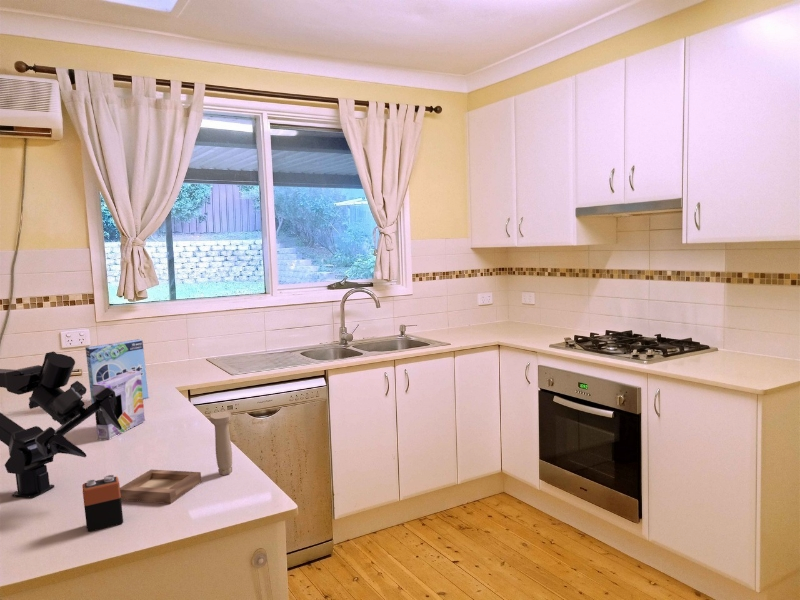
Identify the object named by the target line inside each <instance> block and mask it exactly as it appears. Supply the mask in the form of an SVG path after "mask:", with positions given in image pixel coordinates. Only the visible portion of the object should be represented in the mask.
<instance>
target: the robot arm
mask: <svg viewBox="0 0 800 600" xmlns="http://www.w3.org/2000/svg"><path fill="white" fill-rule="evenodd" d="M75 365H76V359H74V358H73V357H72V356H71V355H70V356H68V355H65V354H63V353H56V352H55V351H50V352H46V353H45V355H44V360H43V363H42V365H39V364H38V365H31V366H27V367H22V368H18V369H7V368H0V388H4V389H6V390H7V392H8V393H12V394H15V395H18V396H19V395H23V394H28V393H31V392H32V393H31V395H30V396H29V398H28V400H29V403H28V407H29V410H31V409H32V410H33V409H36V408H38V407H39V408H41V409H42V410H43V411H44V412H45V413H46V414H48V415H49V416H50V417H51V418H52V420H53V421H54V422H57V423H59V425H60V426H59V427H58V428H56V429H55V428H53V427H52V426H49V427H47V428H46V429H44V430H43V429H42V428H41V427H39V426H37V425H35V426H32V427H29V428H26V429H25V428H24V427H22V426H21V425H19V424H18V423H16V422H15V421H14V420H12V419H11V418H9V417H8V416H6V415H5V414H4V413H2V412H0V442H1V443H3V444H5V445H6V446H7V447H8V454H9V458H8V459H7V461H6V462H5V464H4V467H5V469H6V472H7V473H8V474H15V480H16V488H17V489H16V490H17V491H15V492H13V493H11V497H20V498H36V497H38V496H39V495H42V494H44V493H45V492H47V491H49V490H51V489H53V488H55V484H50V478H49V477H50V476H49V471H48V468H47V467H48V466H47V464H49V463H52V462H54V457H55V455H57V454H66V455H71V456H77V457H82V458H86V457H87V454H86V453H85V452H84V451H83V450H82V449H81V448H80V447H78V446H77V445H75V444H74V443H73V442H72V441H70V440H68V439H67V438H66V437H65V435H66V434H68V433H69V432H70V431H72V430H73V429H75V428H76V427H78V426H79V425H80V424H82V423H83V422H85V421H86V420H87V419H88V418H90V417H91V416H93V415H94V414H95V412H97V411H99V412H100V413H103V417H104V418H105V419H107V420H108V421H109V422H110V423H111V424H112V425H114V426H115V427H116V428H118V429H119V430H121V429H122V428H121V425H120V423H119V422H118V420H117V418H116V416H115V414H114V412H113V411H114V410H115V406H116V404H117V401H116V396H115V391H113V390H112V389H111V388H107V387H106V388H104V389H102V390H101V391H99V392H98V393H97V394H95V395H94V396H93V400H94V403H93V404H92V403H90V404H89V406H87V407H86V408H85V407H84V406H85V402H84V401H83V396H84V395H85V394H86V393H87V388H86V387H85V385H84V384H83V383H82V382H80V381H78V380H75V381H74V382H73V383H72V384H70V387H69V388H68V389H67V390H65V391H64V390H63V389H62V387H65V386H67V385H68V383H69V380H70V378H71V375H72V373H73V370H74V367H75Z"/></svg>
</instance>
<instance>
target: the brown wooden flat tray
mask: <svg viewBox="0 0 800 600" xmlns="http://www.w3.org/2000/svg"><path fill="white" fill-rule="evenodd" d="M201 473H202V472H201V471H186V470H185V471H184V470H169V469H168V470H166V469H149V470H148V471H146V472H145V473H142V474H141V475H139V476H137V477H136V478H134V479H132V480H131V481H128V482H127V483H125V484H124V485H122V486H120V495H121V501H126V502H139V503H140V502H144V503H146V502H147V503H156V504H157V503H158V504H172V503H174V502H175V501H176V500H179V498H181V497H183V496H184V495H185V494H186V493H187V494H188V493H189V492H190V491H191V490H192V489H194V488H195V487H197V486H198V485H200V484H201V483H202V474H201Z"/></svg>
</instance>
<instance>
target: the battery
mask: <svg viewBox="0 0 800 600" xmlns="http://www.w3.org/2000/svg"><path fill="white" fill-rule="evenodd" d="M120 485H121V484H120V481H119V477H118V476H115V475H114V474H107V475H105V476H103V478H102V479H97V480H95V479H89V480H87V481H86V482H84V483H83V484H82V498H83V506H84V516H85V524H86V525H85V526H86V531H87V532H94V531H97V530H102V529H106V528H110V527H114V526H118V525H121V524H123V523H124V514H123V507H122V506H123V504H122V500H121V495H120V487H121V486H120Z"/></svg>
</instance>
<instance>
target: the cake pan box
mask: <svg viewBox="0 0 800 600" xmlns="http://www.w3.org/2000/svg"><path fill="white" fill-rule="evenodd" d="M92 387H93V396H94V395H95V394H97V393H98V392H99V391H101V390H102V389H104V388H106V387H107V388H111V389H112V390H113V391H115V396H116V401H117V404H116V406H115V410H114V411H113V412H114V414H115V416H116V418H117V420H118V422H119V423H120V425H121V428H122V429H121V430H119V429H118V428H116V427H115V426H114V425H112V424H111V423H110V422H109V421H108V420H107V419H105V418H104V417H103V413H100V412H99V411H97V412H95V413H94V414H95V426H96V435H97V440H98V439H110V438H112V437H114V436H116V435H118V434H120V433H122V432H124V431H125V432H127V431H129V430H131V429H132V427H133V428H135V427H137V426H138V425H140V424H141V423H144V422H145V421H146V419H145V405H144V404H145V403H144V399H143V393H142V381H141V371H128V372H125V373H122V374H120V375H116V376H113V377H110V378H108V379H106V380H103V381H101V382H98V383H95V384H93V386H92ZM134 426H135V427H134ZM130 428H131V429H130ZM128 429H129V430H128ZM126 430H127V431H126ZM125 432H124V433H125ZM122 434H123V433H122ZM120 435H121V434H120ZM118 436H119V435H118ZM116 437H117V436H116ZM114 438H115V437H114ZM112 439H113V438H112ZM110 440H111V439H110Z"/></svg>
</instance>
